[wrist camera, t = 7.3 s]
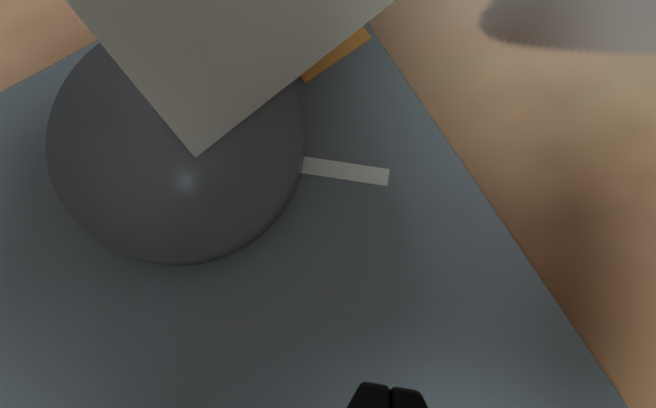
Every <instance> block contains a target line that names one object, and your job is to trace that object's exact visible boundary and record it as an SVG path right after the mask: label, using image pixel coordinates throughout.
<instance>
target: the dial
mask: <svg viewBox="0 0 656 408" xmlns="http://www.w3.org/2000/svg"><path fill="white" fill-rule="evenodd" d="M65 1H66V2H67V3H68V4H69V6H70V7H71V8H72V9H73V10H74V12H75V13H76V14H77V15H78V17H79V18H80V19H81V20H82V21H83V23H84V24H85V25H86V26H87V28H88V29H89V30H90V31H91V32H92V34H93V35H94V36H95V37H96V38H97V40H98V41H99V42H100V43H98V44H97V45H96V46H95V47H94V48H92V49H91V50H90V51H89V52H88V53H86V55H85V56H84V57H83V58H82V59H81V60H80V61H79V62H78V63H77V64H76V65H75V66H74V68H73V69H72V70H71V72H70V73H69V75H68V76H67V77H66V79H65V80H64V82H63V84H62V86H61V88H60V89H59V91H58V93H57V95H56V98H55V100H54V103H53V105H52V108H51V112H50V116H49V119H48V123H47V131H46V160H47V167H48V172H49V175H50V179H51V182H52V185H53V188H54V190H55V192H56V194H57V196H58V199H59V201H60V202H61V204H62V205H63V207H64V208H65V210H66V211H67V213H68V214H69V215H70V217H71V218H72V219H73V220H74V221H75V222H76V223H77V225H78V226H79V227H80V228H82V229H83V230H84V231H85V232H86V233H88V234H89V235H90V236H91V237H92V238H94V239H96V240H97V241H99V242H100V243H102V244H104V245H105V246H107V247H109V248H111V249H114V250H116V251H118V252H120V253H123V254H126V255H129V256H131V257H134V258H137V259H140V260H144V261H147V262H151V263H156V264H162V265H176V266H186V265H194V264H202V263H206V262H210V261H214V260H218V259H220V258H223V257H225V256H228V255H230V254H233V253H235V252H236V251H238V250H240V249H242V248H244V247H246V246H247V245H249V244H250V243H251V242H253V241H254V240H256V239H257V238H258V237H260V236H261V235H262V234H263V233H264V232H265V231H266V230H267V229H268V228H269V227H271V226H272V225H273V223H274V222H275V221H276V220H277V218H278V217H279V216H280V215H281V214H282V212H283V211H284V209H285V208H286V206H287V204H288V203H289V201H290V200H291V198H292V195H293V193H294V191H295V189H296V187H297V184H298V181H299V178H300V174H301V171H302V166H303V160H304V148H305V138H304V129H303V122H302V115H301V109H300V106H299V102H298V98H297V94H296V92H295V89H294V87H293V84H292V82H293V81H294V80H295V79H296V78H298V77H299V76H300V75H301V74H303V73H304V72H305V71H307V70H308V69H309V68H310V67H312V66H313V65H314V64H315V63H317V62H318V61H319V60H321V59H322V58H323V57H324V56H326V55H327V54H328V53H329V52H331V51H332V50H333V49H334V48H336V47H337V46H338V45H340V44H341V43H342V42H343V41H345V40H346V39H347V38H348V37H350V36H351V35H352V34H354V33H355V32H356V31H357V30H359V29H360V28H361V27H362V26H364V25H365V24H366V23H367V22H369V21H370V20H371V19H373V18H374V17H375V16H376V15H378V14H379V13H380V12H381V11H383V10H384V9H385V8H386V7H388V6H389V5H390V4H392V3H393V2H394V1H395V0H65Z"/></svg>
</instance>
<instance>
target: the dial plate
mask: <svg viewBox="0 0 656 408" xmlns="http://www.w3.org/2000/svg"><path fill="white" fill-rule="evenodd" d="M98 43H100V42H99V41H96V42H94V43H92V44H91V45H89V46H87V47H85V48H83V49H81V50H79V51H77V52H75V53H74V54H72V55H70V56H68V57H66V58H64V59H62V60H60V61H59V62H57V63H55V64H53V65H51V66H49V67H47V68H45V69H44V70H42V71H40V72H38V73H36V74H34V75H32V76H30V77H29V78H27V79H25V80H23V81H21V82H19V83H17V84H15V85H13V86H12V87H10V88H8V89H6V90H4V91H2V92H0V408H347V406H348V404H349V402H350V400H351V399H352V397H353V395H354V393H355V392H356V390H357V388H358V386H359V385H360V384H361V383H362V382H372V383H378V384H384V385H387V386H388V387H389V389H391V388H393V387H402V388H408V389H414V390H417V391H419V392H420V393H421V394H422V396H423V398H424V400H425V402H426V404H427V406H428V408H628V406H627V405H626V403H625V402H624V400H623V399H622V397H621V396H620V395H619V393H618V392H617V390H616V389H615V387H614V386H613V384H612V383H611V381H610V380H609V378H608V377H607V375H606V374H605V372H604V371H603V369H602V368H601V366H600V365H599V364H598V362H597V361H596V359H595V358H594V356H593V355H592V353H591V352H590V350H589V349H588V347H587V346H586V344H585V343H584V341H583V340H582V338H581V337H580V335H579V334H578V333H577V331H576V330H575V328H574V327H573V325H572V324H571V322H570V321H569V319H568V318H567V316H566V315H565V313H564V312H563V310H562V309H561V307H560V306H559V304H558V303H557V302H556V300H555V299H554V297H553V296H552V294H551V293H550V291H549V290H548V288H547V287H546V285H545V284H544V282H543V281H542V279H541V278H540V276H539V275H538V273H537V272H536V271H535V269H534V268H533V266H532V265H531V263H530V262H529V260H528V259H527V257H526V256H525V254H524V253H523V251H522V250H521V248H520V247H519V245H518V244H517V242H516V241H515V240H514V238H513V237H512V235H511V234H510V232H509V231H508V229H507V228H506V226H505V225H504V223H503V222H502V220H501V219H500V217H499V216H498V214H497V213H496V211H495V210H494V209H493V207H492V206H491V204H490V203H489V201H488V200H487V198H486V197H485V195H484V194H483V192H482V191H481V189H480V188H479V186H478V185H477V183H476V182H475V181H474V179H473V178H472V176H471V175H470V173H469V172H468V170H467V169H466V167H465V166H464V164H463V163H462V161H461V160H460V158H459V157H458V155H457V154H456V152H455V151H454V150H453V148H452V147H451V145H450V144H449V142H448V141H447V139H446V138H445V136H444V135H443V133H442V132H441V130H440V129H439V127H438V126H437V124H436V123H435V121H434V120H433V119H432V117H431V116H430V114H429V113H428V111H427V110H426V108H425V107H424V105H423V104H422V102H421V101H420V99H419V98H418V96H417V95H416V93H415V92H414V90H413V89H412V88H411V86H410V85H409V83H408V82H407V80H406V79H405V77H404V76H403V74H402V73H401V71H400V70H399V68H398V67H397V65H396V64H395V62H394V61H393V59H392V58H391V57H390V55H389V54H388V52H387V51H386V49H385V48H384V46H383V45H382V43H381V42H380V40H379V39H378V37H377V36H376V34H375V33H374V31H373V30H372V28H371V27H370V26H369V24H368V23H366V24H365V25H364V26H362V27H361V28H360V29H359V30H357V31H356V32H355V33H354V34H352V35H351V36H350V37H348V38H347V39H346V40H345V41H343V42H342V43H341V44H340V45H338V46H337V47H336V48H334V49H333V50H332V51H331V52H329V53H328V54H327V55H326V56H324V57H323V58H322V59H321V60H319V61H318V62H317V63H315V64H314V65H313V66H312V67H310V68H309V69H308V70H307V71H305V72H304V73H303V74H301V75H300V76H299V77H298V78H296V79H295V80H294V81H293V82H292V84H293V87H294V89H295V92H296V94H297V98H298V102H299V106H300V109H301V115H302V122H303V129H304V138H305V148H304V160H303V166H302V171H301V174H300V178H299V181H298V184H297V187H296V189H295V191H294V193H293V195H292V198H291V200H290V201H289V203H288V204H287V206H286V208H285V209H284V211H283V212H282V214H281V215H280V216H279V217H278V218H277V220H276V221H275V222H274V223H273V225H272V226H271V227H269V228H268V229H267V230H266V231H265V232H264V233H263V234H262V235H261V236H260V237H258V238H257V239H256V240H254V241H253V242H251V243H250V244H249V245H247V246H246V247H244V248H242V249H240V250H238V251H236V252H235V253H233V254H230V255H228V256H225V257H223V258H220V259H218V260H214V261H210V262H206V263H202V264H194V265H186V266H176V265H162V264H156V263H151V262H147V261H144V260H140V259H137V258H134V257H131V256H129V255H126V254H123V253H120V252H118V251H116V250H114V249H111V248H109V247H107V246H105V245H104V244H102V243H100V242H99V241H97V240H96V239H94V238H92V237H91V236H90V235H89V234H88V233H86V232H85V231H84V230H83V229H82V228H80V227H79V226H78V225H77V223H76V222H75V221H74V220H73V219H72V218H71V217H70V215H69V214H68V213H67V211H66V210H65V208H64V207H63V205H62V204H61V202H60V201H59V199H58V196H57V194H56V192H55V190H54V188H53V185H52V182H51V179H50V175H49V172H48V167H47V160H46V131H47V123H48V119H49V116H50V112H51V108H52V105H53V103H54V100H55V98H56V95H57V93H58V91H59V89H60V88H61V86H62V84H63V82H64V80H65V79H66V77H67V76H68V75H69V73H70V72H71V70H72V69H73V68H74V66H75V65H76V64H77V63H78V62H79V61H80V60H81V59H82V58H83V57H84V56H85V55H86V53H88V52H89V51H90V50H91V49H92V48H94V47H95V46H96V45H97V44H98Z"/></svg>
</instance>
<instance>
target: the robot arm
mask: <svg viewBox="0 0 656 408" xmlns="http://www.w3.org/2000/svg"><path fill="white" fill-rule="evenodd" d="M347 408H428V406H427V404H426V402H425V400H424V398H423V396H422V394H421V393H420V392H419V391H417V390H414V389H408V388H402V387H393V388H391V389H389V387H388V386H387V385H384V384H378V383H372V382H362V383H361V384H360V385H359V386H358V388H357V390H356V392H355V393H354V395H353V397H352V399H351V400H350V402H349V404H348V406H347Z"/></svg>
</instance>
